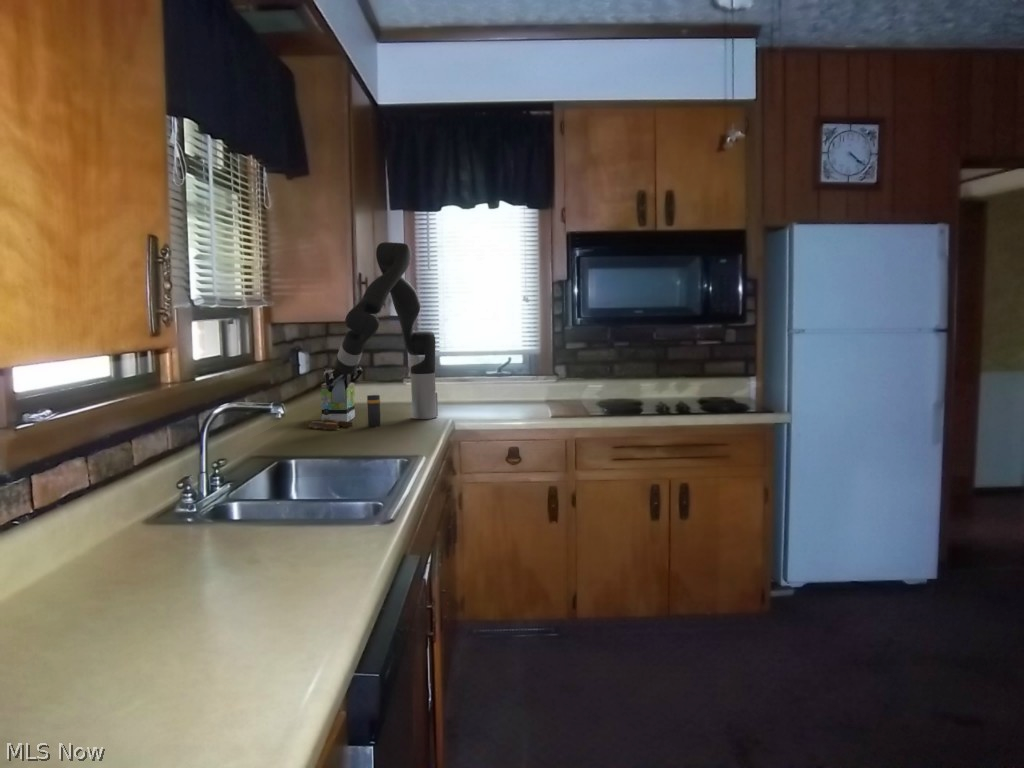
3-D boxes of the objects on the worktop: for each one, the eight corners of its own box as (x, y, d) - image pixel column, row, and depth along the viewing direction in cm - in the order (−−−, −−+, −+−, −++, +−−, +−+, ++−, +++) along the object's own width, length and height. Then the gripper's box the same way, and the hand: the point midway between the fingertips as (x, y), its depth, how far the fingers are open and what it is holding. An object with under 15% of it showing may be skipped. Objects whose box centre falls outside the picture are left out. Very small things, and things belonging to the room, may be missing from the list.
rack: (325, 424, 299) (325, 418, 299) (352, 427, 291) (352, 421, 291) (309, 427, 292) (308, 421, 292) (335, 430, 284) (335, 423, 284)
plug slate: (339, 400, 284) (337, 369, 283) (348, 401, 282) (346, 369, 280) (329, 402, 281) (328, 370, 279) (338, 403, 278) (337, 371, 277)
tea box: (348, 423, 302) (346, 383, 301) (321, 423, 302) (319, 384, 301) (355, 417, 317) (354, 379, 316) (330, 418, 317) (328, 380, 316)
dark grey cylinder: (374, 424, 297) (373, 394, 296) (383, 425, 294) (382, 395, 293) (365, 426, 293) (364, 395, 292) (374, 427, 290) (373, 396, 289)
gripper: (364, 347, 277) (351, 379, 288) (325, 349, 269) (313, 383, 280) (372, 363, 273) (358, 396, 285) (332, 366, 265) (319, 400, 276)
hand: (336, 389), depth 282 cm, fingers closed on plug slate, 4 cm apart
